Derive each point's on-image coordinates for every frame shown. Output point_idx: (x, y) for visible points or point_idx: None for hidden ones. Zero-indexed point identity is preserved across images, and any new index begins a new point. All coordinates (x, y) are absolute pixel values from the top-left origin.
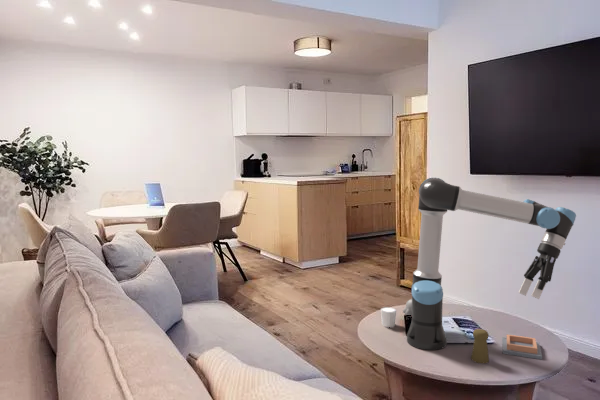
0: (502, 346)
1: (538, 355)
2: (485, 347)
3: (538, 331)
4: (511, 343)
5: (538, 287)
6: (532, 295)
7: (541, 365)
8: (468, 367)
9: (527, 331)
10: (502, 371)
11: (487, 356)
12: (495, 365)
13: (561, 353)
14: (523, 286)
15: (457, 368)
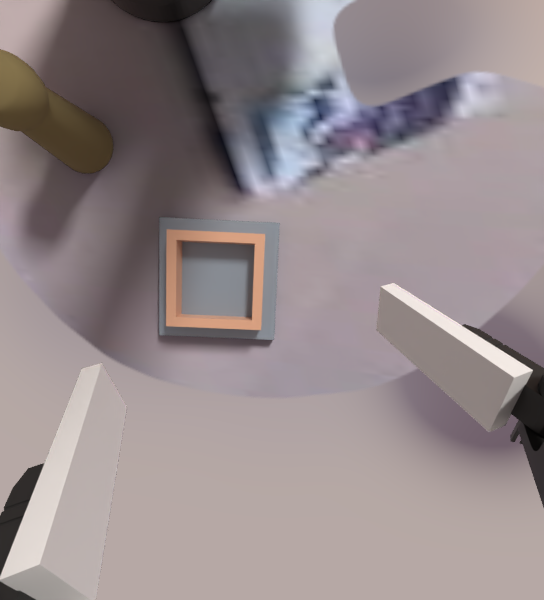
0: (199, 219)
1: (160, 324)
2: (29, 137)
3: None
4: (230, 250)
5: (33, 478)
6: (83, 375)
7: (119, 325)
8: None
9: None
10: (27, 211)
11: (61, 160)
12: (61, 192)
13: (232, 392)
14: (425, 328)
15: None
